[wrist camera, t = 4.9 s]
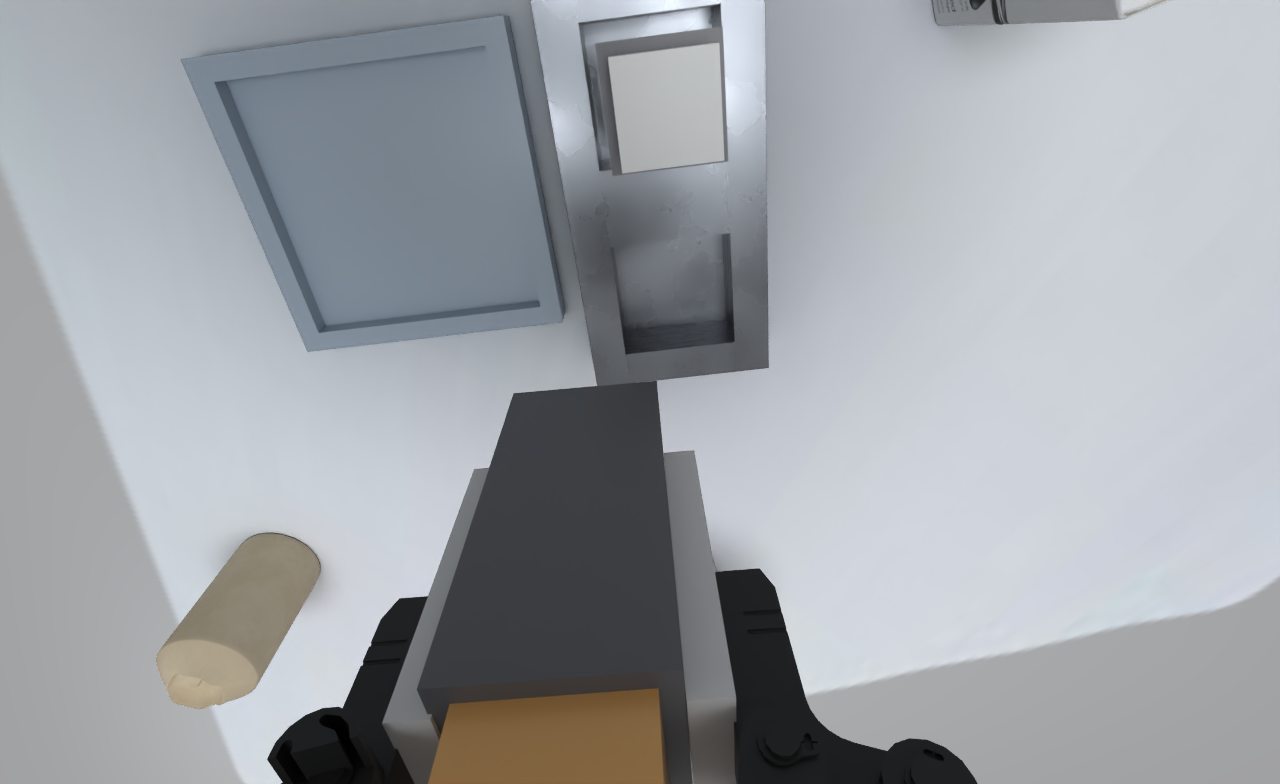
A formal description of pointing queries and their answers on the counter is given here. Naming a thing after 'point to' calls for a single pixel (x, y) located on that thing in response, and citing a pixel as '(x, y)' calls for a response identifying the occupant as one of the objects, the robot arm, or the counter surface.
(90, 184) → the counter surface
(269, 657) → the candle
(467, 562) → the plug
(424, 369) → the counter surface
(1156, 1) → the ink box
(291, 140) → the tray
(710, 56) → the twin plug
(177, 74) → the counter surface
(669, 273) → the grey double socket
